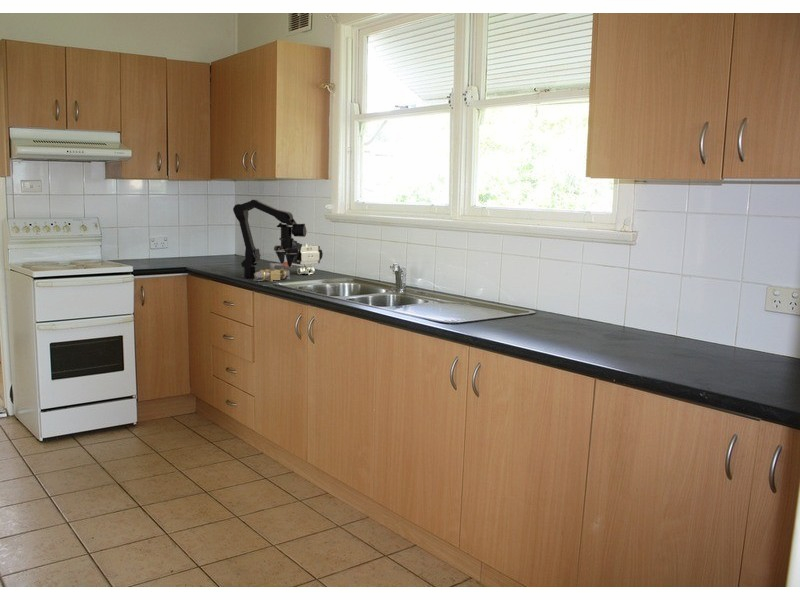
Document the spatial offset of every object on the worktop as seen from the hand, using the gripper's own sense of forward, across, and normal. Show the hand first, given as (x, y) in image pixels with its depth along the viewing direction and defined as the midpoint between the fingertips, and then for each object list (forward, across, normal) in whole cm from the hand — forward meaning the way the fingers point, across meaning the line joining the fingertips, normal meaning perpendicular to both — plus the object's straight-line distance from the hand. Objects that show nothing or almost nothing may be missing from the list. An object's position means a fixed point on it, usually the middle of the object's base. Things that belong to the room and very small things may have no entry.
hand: (286, 265), depth 381 cm
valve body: (+7, 0, +8) cm, 11 cm away
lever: (+2, -1, +4) cm, 4 cm away
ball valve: (+8, +14, -19) cm, 25 cm away
